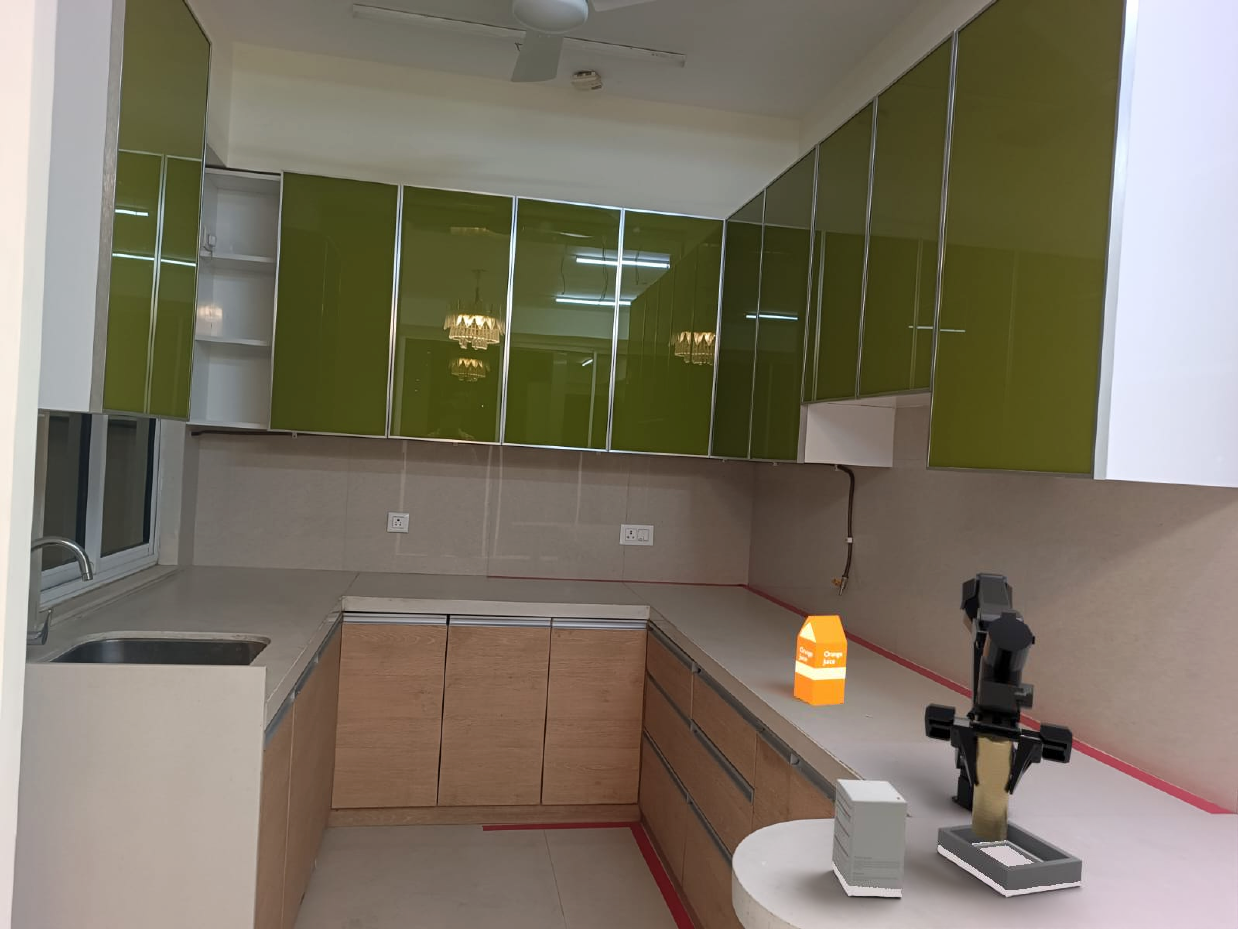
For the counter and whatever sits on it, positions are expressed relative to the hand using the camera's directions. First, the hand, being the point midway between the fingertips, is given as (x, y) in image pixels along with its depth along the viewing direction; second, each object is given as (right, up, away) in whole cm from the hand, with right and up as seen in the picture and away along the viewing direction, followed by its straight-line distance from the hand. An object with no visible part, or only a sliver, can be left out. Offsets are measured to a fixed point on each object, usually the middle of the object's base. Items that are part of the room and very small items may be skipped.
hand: (991, 789), depth 114 cm
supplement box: (-18, -12, -2) cm, 21 cm away
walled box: (+4, -13, +5) cm, 15 cm away
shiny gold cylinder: (0, -7, +1) cm, 7 cm away
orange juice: (-3, -12, +87) cm, 88 cm away
